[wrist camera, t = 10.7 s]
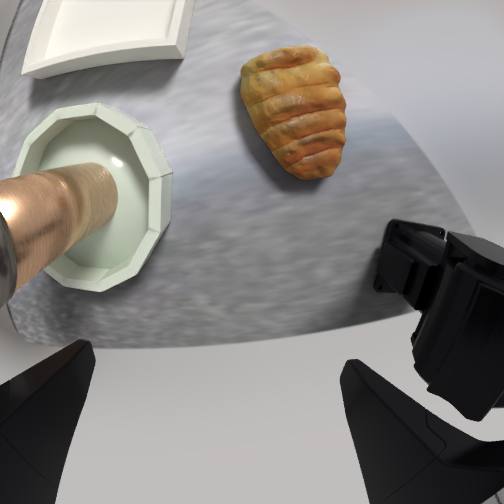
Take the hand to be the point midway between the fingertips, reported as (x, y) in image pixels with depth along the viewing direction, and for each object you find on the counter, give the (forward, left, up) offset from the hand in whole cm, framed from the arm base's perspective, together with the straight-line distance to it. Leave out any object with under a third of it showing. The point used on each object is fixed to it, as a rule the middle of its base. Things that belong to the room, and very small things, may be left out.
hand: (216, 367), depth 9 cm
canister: (+11, -3, -12) cm, 17 cm away
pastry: (-4, -10, -14) cm, 17 cm away
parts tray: (+11, -20, -13) cm, 26 cm away
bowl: (+11, -3, -13) cm, 17 cm away
